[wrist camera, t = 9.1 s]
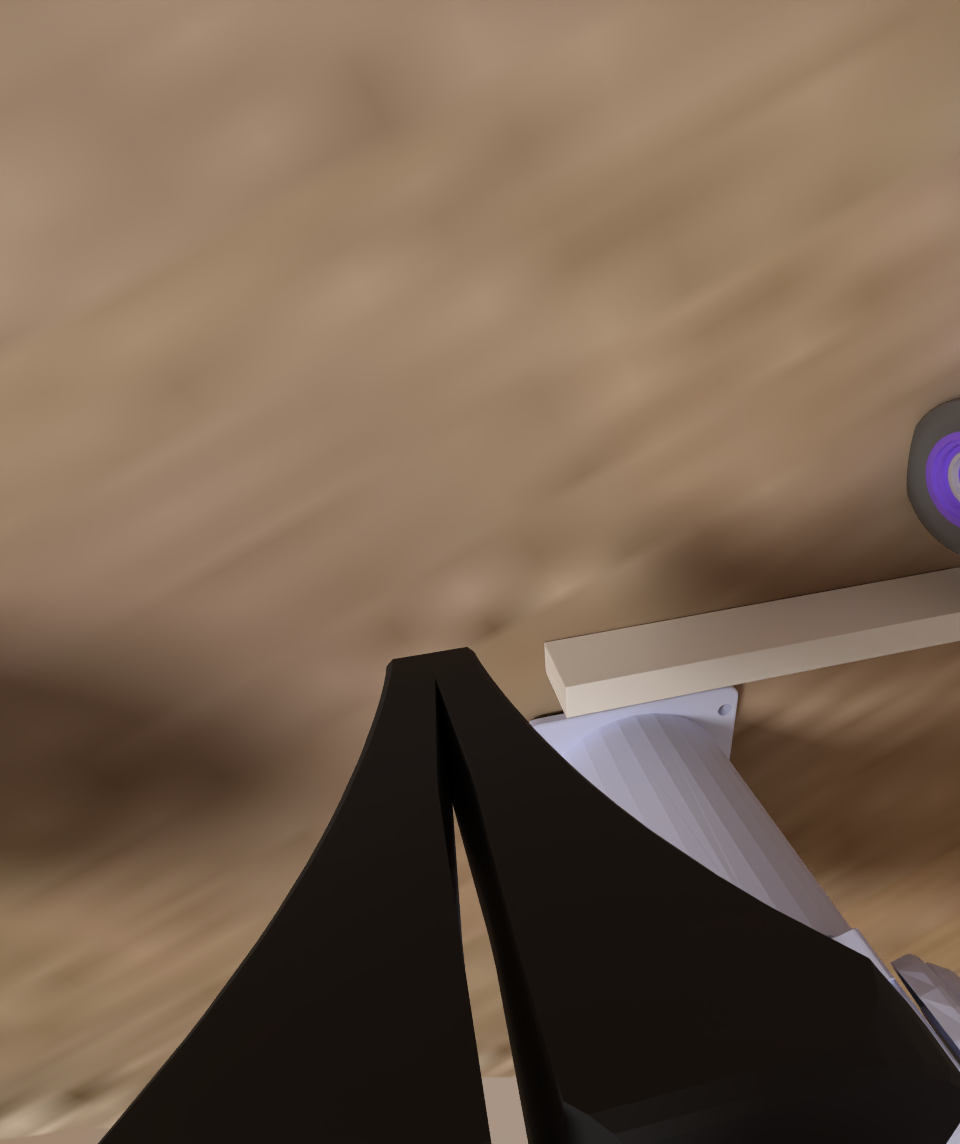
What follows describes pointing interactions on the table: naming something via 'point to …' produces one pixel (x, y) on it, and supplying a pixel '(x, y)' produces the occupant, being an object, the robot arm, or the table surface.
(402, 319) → the table surface
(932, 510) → the toy race car
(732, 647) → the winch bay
